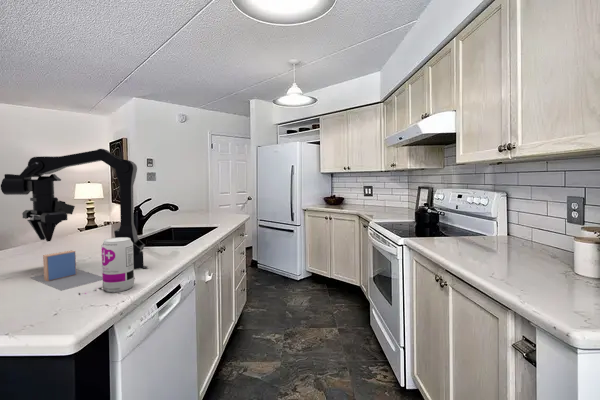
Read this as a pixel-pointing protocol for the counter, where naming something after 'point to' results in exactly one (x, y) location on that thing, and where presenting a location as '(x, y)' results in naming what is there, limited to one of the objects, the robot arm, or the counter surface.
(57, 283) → the mat
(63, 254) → the tile
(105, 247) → the supplement can
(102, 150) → the robot arm
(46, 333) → the counter surface
